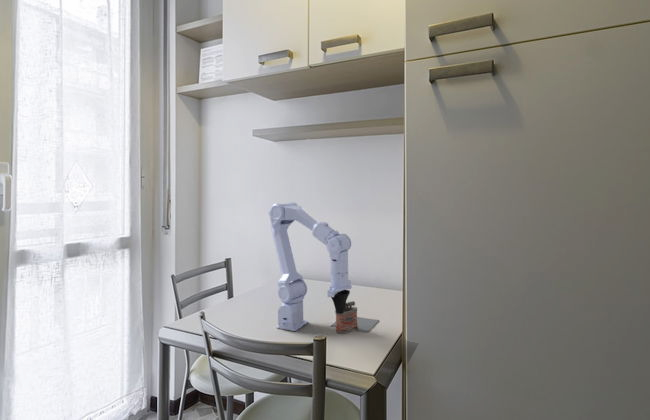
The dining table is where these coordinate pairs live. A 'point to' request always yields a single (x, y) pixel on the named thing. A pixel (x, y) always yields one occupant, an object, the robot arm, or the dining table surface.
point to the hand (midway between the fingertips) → (340, 312)
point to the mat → (363, 324)
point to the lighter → (347, 319)
